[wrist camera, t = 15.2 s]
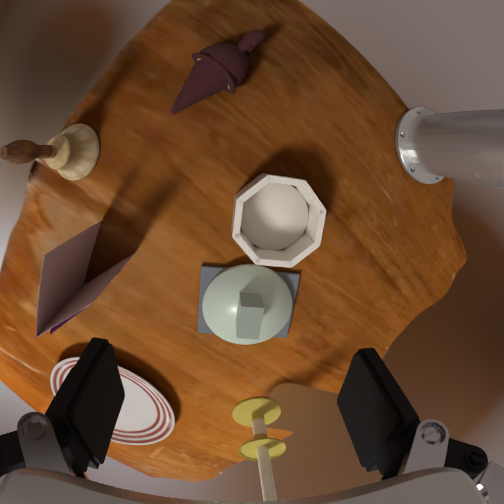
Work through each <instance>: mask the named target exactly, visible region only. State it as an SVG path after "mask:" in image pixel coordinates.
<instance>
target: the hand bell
mask: <svg viewBox="0 0 504 504" xmlns="http://www.w3.org/2000/svg"><path fill="white" fill-rule="evenodd" d="M98 156H99V140H98V137H97V134H96V133H95V131H94V130H93V129H92V128H91V127H90V126H88V125H86V124H81V123H78V124H74V125H71V126H69V127H68V128H66V129H65V130H64V131H63V132H62V133H61V134H60V135H57V136H54V137H53V138H51V139H50V141H49V142H48V144H47V145H37V144H35V143H34V142H32V141H28V140H17V141H14V142H12V143H10V144H8V145H6V146H3V147H1V149H0V158H1V159H5V160H7V161H9V162H11V163H14V164H23V163H28V162H30V161H32V160H34V159H36V158H45V160H46V163H47V164H48V166H50V167H51V168H53V169H57V171H58V172H59V174H60V175H61V176H63V177H64V178H66V179H68V180H79V179H82V178H84V177H85V176H87V175H88V174H89V173H90V172H91V171H92V170H93V168H94V166H95V164H96V162H97V159H98Z"/></svg>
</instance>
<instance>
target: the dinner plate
mask: <svg viewBox="0 0 504 504" xmlns="http://www.w3.org/2000/svg"><path fill="white" fill-rule="evenodd" d="M79 358H80V357H72V358H67V359H64V360H62V361H60V362H59V363H58V364H56V366H55V367H54V368H53V370H52V373H51V378H50V382H51V388H52V391H53V394H54V396H55V395H56V393H57V392H58V390H59V388H60V386H61V385H62V383H63V381H64V380H65V378H66V376H67V375H68V373H69V371H70V370H71V368H72V367H74V366H75V364H76V363H77V361H78V360H79ZM117 366H118V365H117ZM118 369H119V373H120V377H121V380H122V384H123V387H124V391H125V399H124V402H123V405H122V408H121V410H120V413H119V416H118V419H117V422H116V425H115V428H114V431H113V434H112V438H111V441H114V442H118V443H123V444H130V445H147V444H152V443H156V442H159V441H161V440H163V439H165V438H166V437H167V436H169V434H170V433H171V432H172V430H173V428H174V425H175V417H174V413H173V410H172V408H171V406H170V404H169V403H168V401H167V400H166V398H165V397H164V396H163V395H162V394H161V393H160V392H159V391H158V390H157V389H156V388H155V387H154V386H153V385H151V384H150V383H149V382H147V381H146V380H145V379H143V378H142V377H140V376H138V375H137V374H134V373H133V372H131V371H129V370H127V369H125V368H123V367H121V366H118Z"/></svg>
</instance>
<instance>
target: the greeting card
mask: <svg viewBox="0 0 504 504" xmlns="http://www.w3.org/2000/svg"><path fill="white" fill-rule="evenodd" d="M101 222H102V221H101ZM101 222H99V223H97V224H95V225H93V226H92V227H90V228H88V229H86V230H85V231H83V232H81V233H80V234H78V235H76V236H75V237H73V238H71V239H69V240H68V241H66V242H65V243H63V244H61V245H60V246H58V247H56V248H55V249H53V250H52V251H50V252H49V253H47V254H45V255H44V259H43V265H42V271H41V278H40V286H39V295H38V306H37V320H36V338H37V337H39V336H40V335H42V334H43V333H45V332H47V331H48V330H50V329H51V332H50V334H51V333H53V332H54V331H55V330H57V329H58V328H59V327H61V326H62V325H63V324H65V323H66V322H67V321H69V320H70V319H71V318H73V317H74V316H75V315H77V314H78V313H79V312H81V311H82V310H84V309H85V308H86V307H88V306H89V305H90V304H92V303H93V302H94V301H95V300H96V299H97V297H98V296H99V295H100V294H101V292H102V291H103V290H104V289H105V288H106V286H107V285H108V284H109V283H110V282H111V280H112V279H113V278H114V277H115V276H116V275H117V274H118V273H119V272H120V271H121V269H122V268H123V266H124V265H125V264H126V263H127V262H128V261H129V260H130V258H131V257H132V256H133V255H134V254H135V253H134V254H132V255H131V256H129V257H127V258H126V259H124V260H123V261H121V262H119V263H118V264H116V265H115V266H113V267H111V268H110V269H108V270H107V271H105V272H104V273H102V274H101V275H99V276H97V277H96V278H94V279H93V280H91V281H90V282H88V283H87V284H85V285H84V281H85V277H86V273H87V269H88V265H89V262H90V258H91V254H92V251H93V247H94V244H95V241H96V237H97V234H98V231H99V228H100V225H101ZM83 285H84V286H83Z"/></svg>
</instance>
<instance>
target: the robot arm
mask: <svg viewBox="0 0 504 504" xmlns="http://www.w3.org/2000/svg"><path fill="white" fill-rule="evenodd" d="M395 143H396V150H397V154H398V157H399V160H400V162H401V164H402V166H403V168H404V169H405V171H406V172H407V173H408V174H409V175H410V176H411V177H412V178H413V179H415V180H416V181H418V182H421V183H425V184H434V183H437V182H439V181H441V180H442V179H443V178H444V177H448V178H453V179H459V180H465V181H469V182H474V183H479V184H483V185H488V186H492V187H496V188H501V189H504V109H503V110H480V111H465V112H453V113H443V114H438V113H437V112H435V111H434V110H432V109H430V108H427V107H414V108H411V109H409V110H407V111H406V112H405V113H404V114H403V115H402V116H401V118H400V120H399V122H398V125H397V128H396V135H395ZM124 399H125V391H124V387H123V384H122V380H121V377H120V373H119V369H118V366H117V362H116V358H115V354H114V350H113V346H112V344H109V342H108V340H106V339H101V338H95V337H94V338H92V339H91V341H90V342H89V344H88V345H87V347H86V348H85V350H84V352H83V353H82V355H81V356H80V358H79V360H78V361H77V363H76V364H75V366H74V367H72V368H71V370H70V371H69V373H68V375H67V376H66V378H65V380H64V381H63V383H62V385H61V386H60V388H59V390H58V392H57V393H56V395H55V397H54V399H53V400H52V402H51V404H50V406H49V408H48V409H47V411H46V413H45V415H44V414H42V413H40V412H30V413H27V414H25V415H23V416H22V417H21V419H20V420H19V421H18V425H17V431H14V432H10V433H7V434H3V435H0V504H504V468H502V467H501V466H499V465H498V464H496V463H494V462H493V461H490V462H489V463H488V459H487V455H486V453H485V452H484V451H483V450H482V449H481V448H479V447H477V446H473V445H470V444H467V443H463V442H460V441H457V440H454V439H451V438H449V432H448V430H447V428H446V426H445V425H444V424H443V423H441V422H440V421H437V420H432V419H428V420H425V421H422V422H420V420H419V417H418V415H417V413H416V412H415V410H414V409H413V407H412V405H411V404H410V402H409V401H408V399H407V397H406V396H405V394H404V393H403V391H402V390H401V388H400V386H399V385H398V383H397V382H396V380H395V379H394V377H393V376H392V375H391V373H390V371H389V370H388V368H387V367H386V365H385V364H384V362H383V361H382V359H381V358H380V356H379V355H378V353H377V352H376V350H375V349H374V348H363V349H359V350H358V352H357V353H355V354H354V356H353V359H352V361H351V364H350V367H349V370H348V372H347V375H346V378H345V380H344V383H343V385H342V388H341V390H340V393H339V396H338V399H337V404H338V407H339V409H340V412H341V415H342V417H343V419H344V422H345V424H346V427H347V430H348V432H349V435H350V438H351V440H352V443H353V445H354V448H355V451H356V453H357V456H358V458H359V461H360V464H361V465H362V466H363V467H365V468H366V470H367V472H371V471H374V470H378V469H379V471H380V473H381V475H380V477H379V479H378V481H377V482H375V483H372V484H368V485H364V486H360V487H356V488H352V489H348V490H343V491H338V492H334V493H328V494H323V495H317V496H311V497H303V498H296V499H287V500H275V501H260V502H213V501H197V500H186V499H177V498H169V497H162V496H156V495H150V494H145V493H139V492H135V491H130V490H125V489H121V488H116V487H113V486H109V485H104V484H101V483H98V482H94V481H91V480H89V479H88V477H87V475H86V473H85V472H86V471H87V467H92V468H95V469H98V467H99V464H103V462H104V460H105V457H106V454H107V450H108V447H109V444H110V441H111V438H112V434H113V431H114V428H115V425H116V422H117V419H118V416H119V413H120V410H121V408H122V405H123V402H124Z"/></svg>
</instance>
